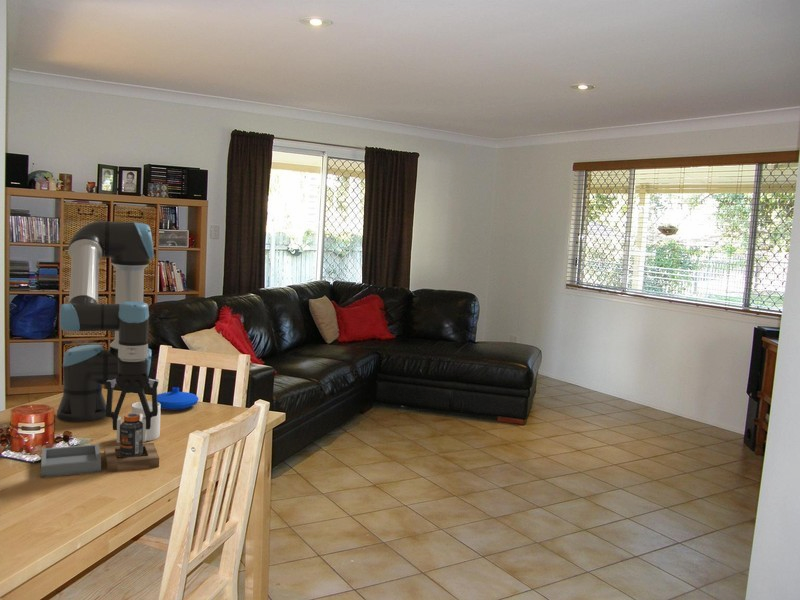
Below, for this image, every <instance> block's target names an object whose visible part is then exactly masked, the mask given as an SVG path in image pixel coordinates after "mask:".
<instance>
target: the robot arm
mask: <svg viewBox="0 0 800 600" xmlns="http://www.w3.org/2000/svg"><path fill="white" fill-rule="evenodd" d="M151 230H152V229H151V227H150V225H149V224H147V223H144V222H143V223H142V222H141V223H140V222H135V221H134V222H131V221H107V220H106V221H105V220H97V221H93V222H90V223H88V224H86V225H83V226H82V227H80V228H79V229H78V230H77V231H76V232H74V233H75V234H73V235H72V238H70V239H71V240H69V244H68V249H67V252H68V256H69V258H70V259H71V261H70V262H71V264H70V279H69V294H68V295H69V296H68V303H62V304H60V308H59V328H60V329H61V330H62V331H67V332H75V333H76V332H77V333H78V332H107V331H108V332H114V340H112V342H110V344H109V349H108V348H107V349H104V347H103V345H102V344H93V343H92V344H87V345H86V344H85V345H79V346H78V345H77V346H74V347H71V348H69V349H66V351H65V352H64V354H63V363H62V367H63V378H62V379H63V381H62V382H63V384H62V385H63V386H62V387H63V388H62V389H63V391H62V396H61V399H60V401H59V402H60V403H59V405H58V408H57V410H56V417H57V419H58V420H59V421H62V422H64V423H65V422H66V423H87V422H94V421H99V420H102V419H104V418H110V419H112V430H113V431H116V444H118V443H119V444H120V425H121V424H122V416H119V414H120V411H121V409H122V406H123V403H124V400H125V397H126V395H127V394H130V393H134V394H137V396H138V397H139V400H140V401H139V402H141V404H142V407H143V410H144V413H145V416H144V417H143V441H142V442H143V443H146V442H147V441H146V429H150V427H151V417H153V416H157V414H158V402H157V395H158V387H159V383H160V380H159V379H157V378H156V379H152V378H150V376H149V374H150V369H151V366H152V365H151V364H152V353H153V352H152V349H151V348H149V318H150V311H149V304H148V303H146V302H144V292H145V291H144V286H145V283H144V282H145V280H144V279H145V269H146V268H147V267H148V266H149V265H150V260H153V259H155V254H154V251H155V250H154V243H153V235H152V231H151ZM102 258H105V259H107V258H109V259H110V264H111V265H112V266H113V267H114V269H115V300H114V301H115V303H99V276H100V275H99V274H100V273H99V271H100V270H99V267H100V266H99V265H100V263H99V261H100V260H101V259H102ZM148 384H149V387H150V388H151V401H152V410H153V411H151V412H150V409H149V406H148V403H147V401H148V400H147V397H146V394H145V387H146V385H148ZM103 385H104V386H105V387H106V399H105V397H104V394H103ZM116 385H118V386H119V388H120V389H121V392H120V396H119V398H118V400H117V402H116V403H117V404H116V406H115V409H114V411H112V410H113V399H114V388H115V386H116Z"/></svg>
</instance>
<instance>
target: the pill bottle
mask: <svg viewBox="0 0 800 600" xmlns="http://www.w3.org/2000/svg"><path fill="white" fill-rule="evenodd" d="M139 420H140V415H139V414H137V413H132V412H130V413H126V414H124V416H123V422H121V425H120V443H119V446H120V455H121V456H123V457H122V458H131V457H141V456H142V455H141V454H142V453H143V444H144V442H142V441H143V423H142V422H141V421H139Z"/></svg>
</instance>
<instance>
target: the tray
mask: <svg viewBox="0 0 800 600" xmlns="http://www.w3.org/2000/svg"><path fill="white" fill-rule="evenodd" d="M100 452H101V451H100V444H99V443H96V444H84V445H83V444H82V445H73V446H62V447H61V446H59V447H46V448H42V449H41V461H40V464H41V465H40V478H41V479H43V478H54V477H65V476H75V475H84V474H85V475H86V474H94V473H102V457H101V453H100Z"/></svg>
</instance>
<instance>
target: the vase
mask: <svg viewBox="0 0 800 600" xmlns="http://www.w3.org/2000/svg"><path fill="white" fill-rule="evenodd" d="M171 389H172V391H168V392H162V393H159V394H158V393H157V402H158V403H160V404H161V409H163V410H171V411H175V410H176V411H177V410H185V409H189V408H191V407H193V406H195V405H197V404H198V401H199V397H198V396H197V394H194V393H191V392H187V391H186V392H185V391H180V387H179V386H178V387H177V386H175V387H172V388H171Z"/></svg>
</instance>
